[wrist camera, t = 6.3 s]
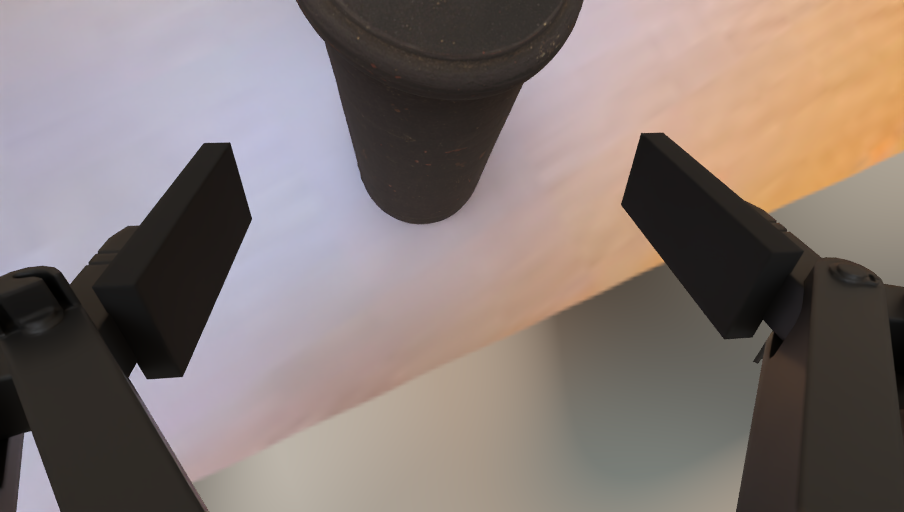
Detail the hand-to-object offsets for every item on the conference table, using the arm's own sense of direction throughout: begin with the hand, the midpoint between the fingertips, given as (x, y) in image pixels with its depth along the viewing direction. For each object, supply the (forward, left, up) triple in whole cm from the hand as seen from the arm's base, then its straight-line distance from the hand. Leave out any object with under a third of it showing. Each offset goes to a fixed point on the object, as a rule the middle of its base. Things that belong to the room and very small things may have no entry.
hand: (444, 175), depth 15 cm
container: (-5, +3, -16) cm, 17 cm away
